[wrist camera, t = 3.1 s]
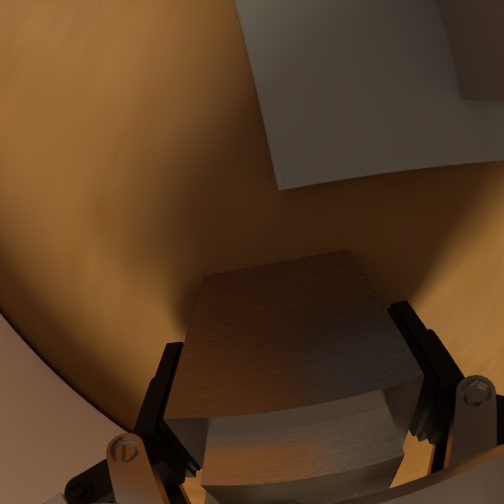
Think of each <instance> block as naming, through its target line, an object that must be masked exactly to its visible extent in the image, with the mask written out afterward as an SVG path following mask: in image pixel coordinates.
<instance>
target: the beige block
mask: <svg viewBox="0 0 504 504" xmlns="http://www.w3.org/2000/svg"><path fill="white" fill-rule="evenodd" d="M423 380H424V374H423V372H422V370H421V368H420V367H419V365H418V363H417V361H416V359H415V357H414V356H413V354H412V352H411V350H410V349H409V347H408V345H407V343H406V342H405V340H404V338H403V336H402V335H401V333H400V331H399V330H398V328H397V326H396V325H395V323H394V321H393V320H392V318H391V316H390V315H389V313H388V311H387V310H386V308H385V306H384V305H383V303H382V302H381V300H380V298H379V297H378V295H377V294H376V292H375V290H374V289H373V287H372V286H371V284H370V283H369V281H368V280H367V278H366V276H365V275H364V273H363V272H362V270H361V269H360V267H359V266H358V264H357V263H356V261H355V260H354V258H353V257H352V255H351V254H350V252H349V251H348V249H346V250H341V251H336V252H330V253H325V254H320V255H315V256H310V257H305V258H300V259H294V260H289V261H284V262H279V263H273V264H268V265H263V266H258V267H252V268H247V269H241V270H236V271H231V272H225V273H220V274H214V275H209V276H204V279H203V283H202V286H201V289H200V292H199V295H198V299H197V302H196V305H195V308H194V312H193V315H192V318H191V322H190V325H189V328H188V332H187V335H186V338H185V342H184V345H183V349H182V352H181V356H180V359H179V362H178V366H177V370H176V373H175V377H174V380H173V384H172V387H171V391H170V395H169V398H168V402H167V406H166V410H165V413H164V417H163V419H164V421H165V422H166V423H167V425H168V426H169V427H170V429H171V430H172V432H173V433H174V434H175V436H176V437H177V438H178V439H179V441H180V442H181V443H182V445H183V446H184V447H185V448H186V450H187V451H188V452H189V453H190V455H191V456H192V457H193V458H194V460H195V461H196V462H197V463H198V464H199V465H200V467H201V468H202V469H203V472H202V480H201V486H202V487H203V488H204V489H205V490H206V491H207V492H208V493H209V494H210V495H212V496H213V497H214V498H215V499H216V500H217V501H218V502H219V503H220V504H327V503H333V502H338V501H343V500H347V499H352V498H356V497H360V496H364V495H368V494H372V493H376V492H379V491H383V490H386V489H389V487H390V485H391V483H392V481H393V479H394V477H395V475H396V473H397V471H398V469H399V467H400V464H401V462H402V460H403V457H404V455H405V454H404V451H403V448H402V446H403V444H404V441H405V438H406V435H407V433H408V430H409V427H410V424H411V421H412V418H413V415H414V411H415V408H416V405H417V402H418V398H419V395H420V391H421V387H422V384H423Z"/></svg>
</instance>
